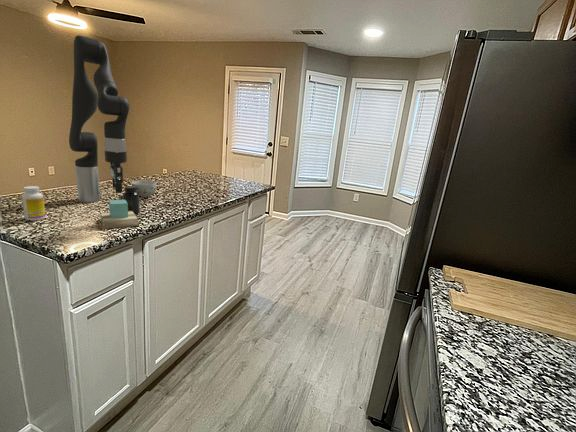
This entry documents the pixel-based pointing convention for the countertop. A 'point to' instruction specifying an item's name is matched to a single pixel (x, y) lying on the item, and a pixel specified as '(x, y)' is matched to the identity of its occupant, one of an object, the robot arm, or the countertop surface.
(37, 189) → the supplement bottle
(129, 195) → the supplement bottle
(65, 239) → the countertop surface
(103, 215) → the birch pedestal
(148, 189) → the teacup
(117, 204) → the teal cube
